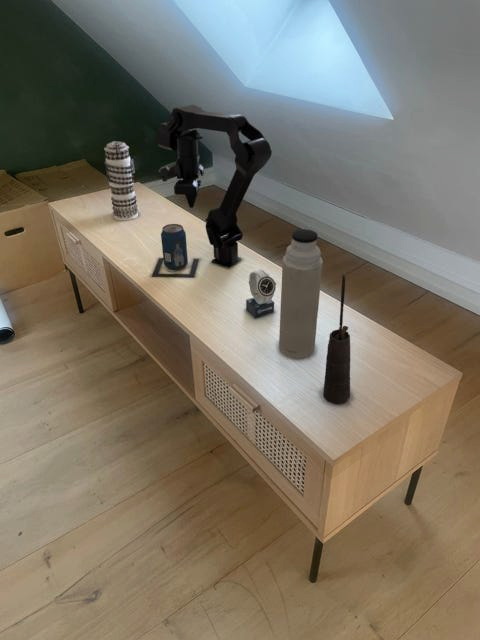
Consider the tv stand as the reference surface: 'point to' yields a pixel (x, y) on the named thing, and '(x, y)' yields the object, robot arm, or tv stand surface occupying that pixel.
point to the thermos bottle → (300, 295)
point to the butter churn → (338, 362)
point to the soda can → (174, 247)
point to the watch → (260, 294)
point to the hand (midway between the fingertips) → (191, 207)
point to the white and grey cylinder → (121, 180)
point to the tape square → (158, 266)
